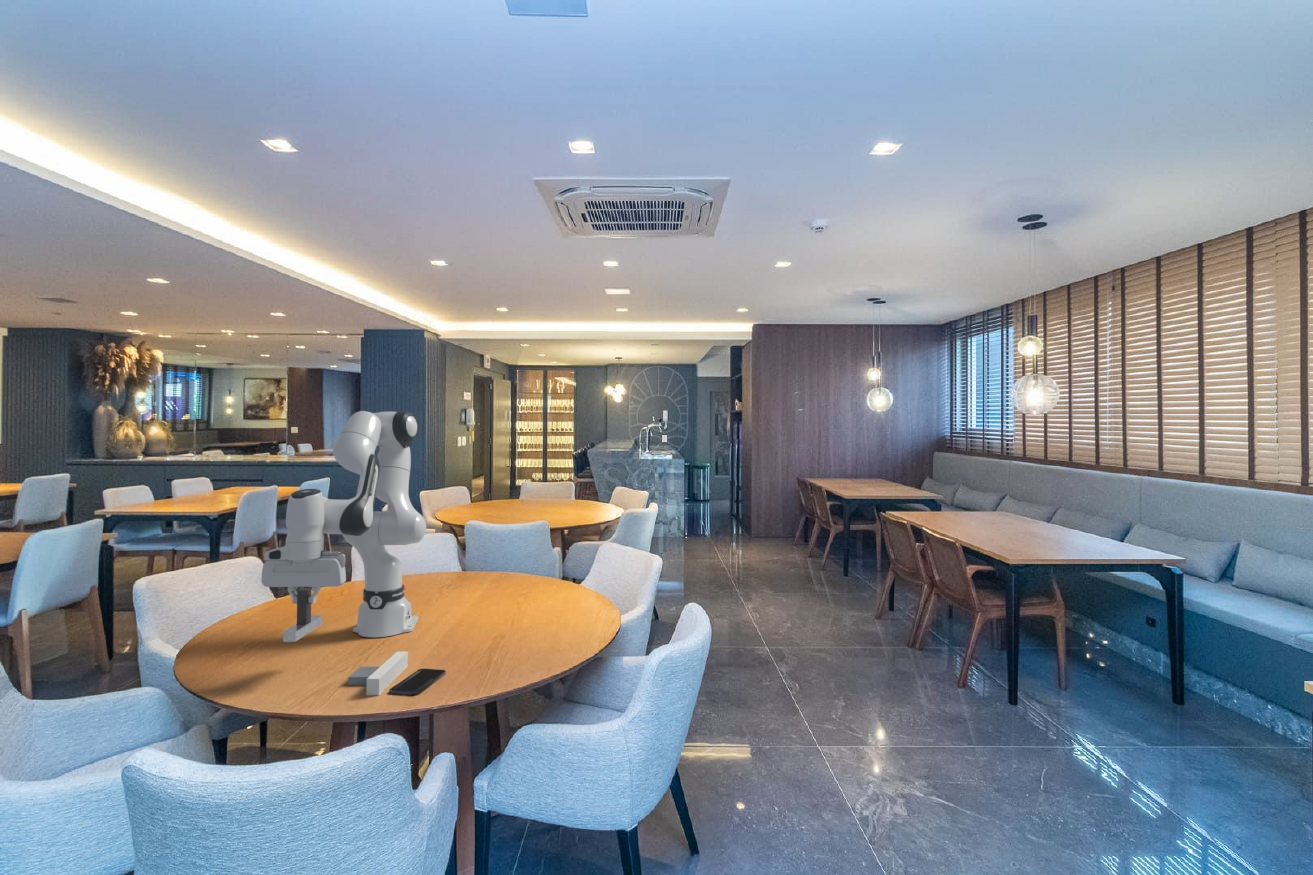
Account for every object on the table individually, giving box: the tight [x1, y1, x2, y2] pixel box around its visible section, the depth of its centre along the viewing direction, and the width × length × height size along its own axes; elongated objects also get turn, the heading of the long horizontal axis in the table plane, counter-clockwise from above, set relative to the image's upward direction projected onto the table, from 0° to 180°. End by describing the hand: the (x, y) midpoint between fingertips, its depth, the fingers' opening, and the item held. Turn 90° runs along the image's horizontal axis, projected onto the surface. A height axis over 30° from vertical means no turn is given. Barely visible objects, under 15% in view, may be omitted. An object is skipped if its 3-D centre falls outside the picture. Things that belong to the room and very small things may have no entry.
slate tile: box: [347, 666, 380, 686], centre depth 155 cm, size 7×7×2 cm
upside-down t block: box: [282, 587, 323, 643], centre depth 158 cm, size 14×3×12 cm, turn 4°
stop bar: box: [366, 651, 409, 696], centre depth 155 cm, size 19×3×4 cm, turn 3°
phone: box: [388, 668, 447, 697], centre depth 154 cm, size 8×1×15 cm
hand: (304, 603), depth 158 cm, fingers closed on upside-down t block, 2 cm apart
